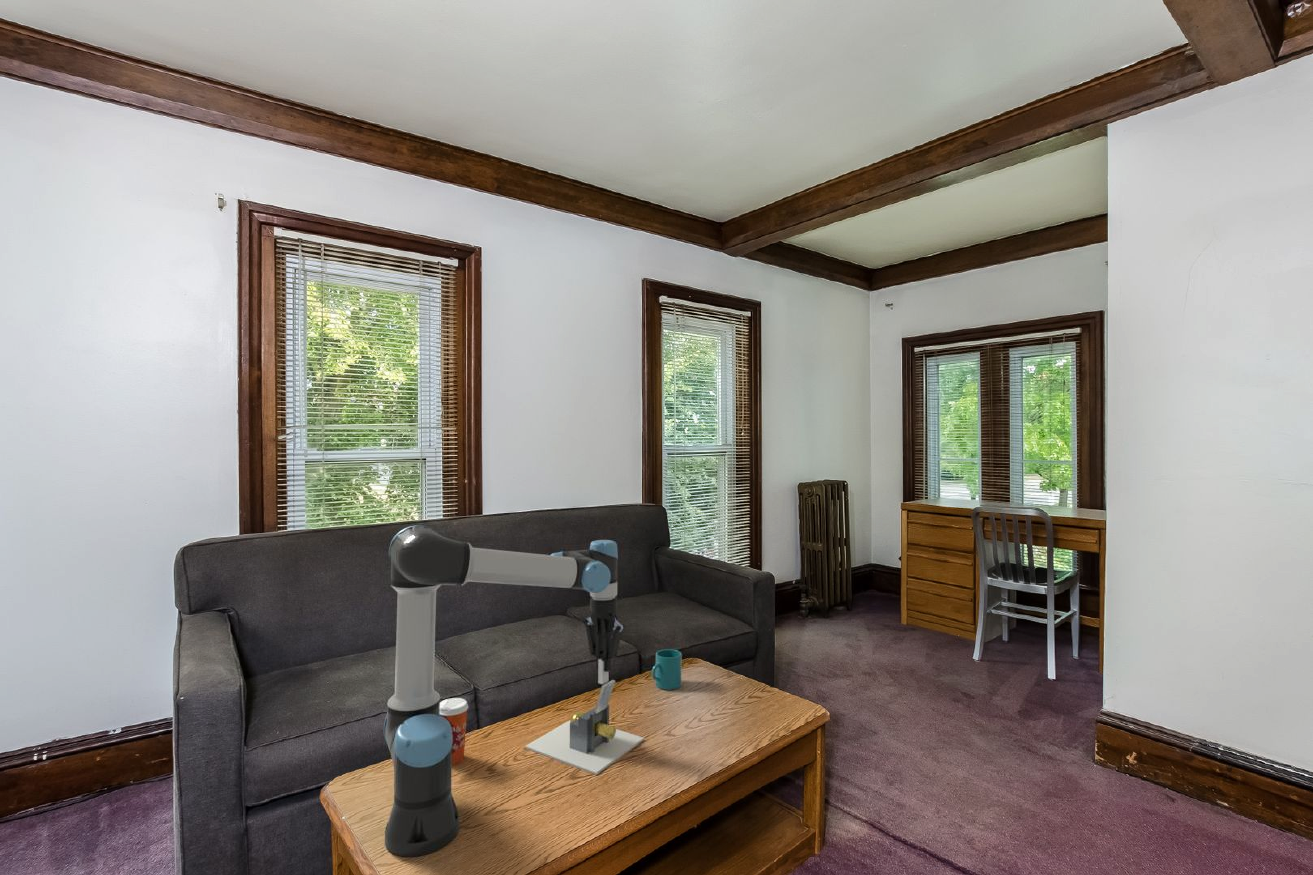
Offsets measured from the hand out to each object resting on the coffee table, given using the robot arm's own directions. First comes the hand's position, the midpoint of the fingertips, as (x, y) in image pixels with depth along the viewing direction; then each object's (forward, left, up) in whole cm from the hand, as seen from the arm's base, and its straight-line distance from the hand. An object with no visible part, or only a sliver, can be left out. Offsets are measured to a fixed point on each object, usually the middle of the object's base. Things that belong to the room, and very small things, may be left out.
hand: (603, 681), depth 169 cm
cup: (+47, +9, -19) cm, 51 cm away
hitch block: (0, +5, -19) cm, 19 cm away
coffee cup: (-26, +31, -19) cm, 44 cm away
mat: (0, +6, -19) cm, 20 cm away
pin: (0, +3, -16) cm, 16 cm away
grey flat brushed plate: (0, +1, -8) cm, 8 cm away
